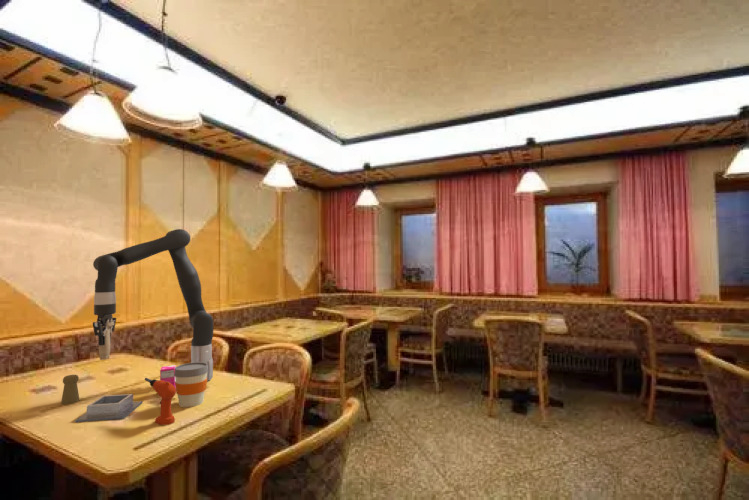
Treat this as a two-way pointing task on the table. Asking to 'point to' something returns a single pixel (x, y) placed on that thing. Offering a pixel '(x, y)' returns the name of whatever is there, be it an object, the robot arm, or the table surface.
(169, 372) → the supplement box
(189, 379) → the reusable coffee cup
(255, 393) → the table surface
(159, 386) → the toy drill
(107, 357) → the handle
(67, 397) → the pepper shaker
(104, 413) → the chuck block
